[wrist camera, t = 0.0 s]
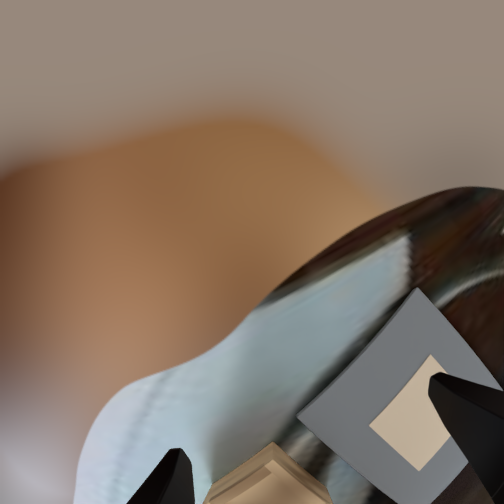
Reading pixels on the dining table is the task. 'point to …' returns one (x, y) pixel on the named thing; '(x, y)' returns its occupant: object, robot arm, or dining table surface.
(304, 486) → the oak socket block
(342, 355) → the dining table surface
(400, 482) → the grey rectangular plate
